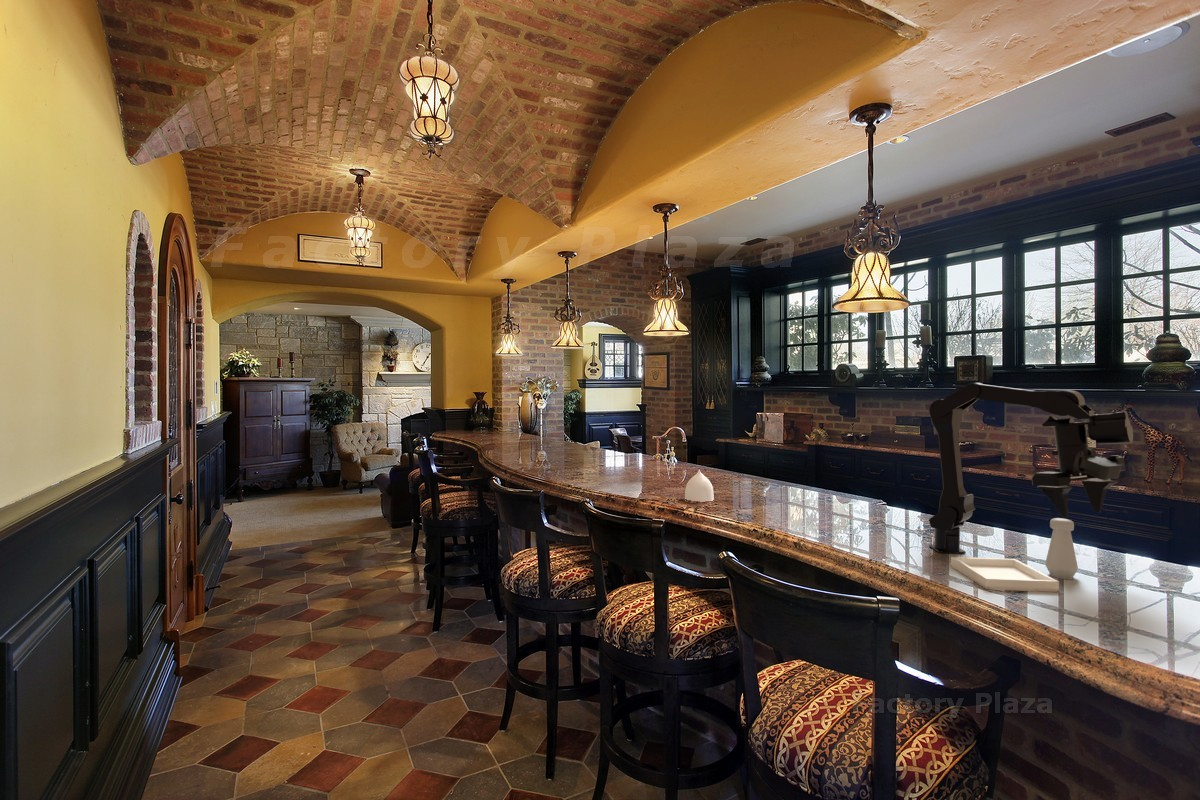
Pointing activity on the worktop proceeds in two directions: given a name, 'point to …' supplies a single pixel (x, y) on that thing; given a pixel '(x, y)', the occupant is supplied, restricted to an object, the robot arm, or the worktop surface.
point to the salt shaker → (1061, 550)
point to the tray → (1004, 574)
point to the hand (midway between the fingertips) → (1081, 514)
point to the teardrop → (699, 489)
